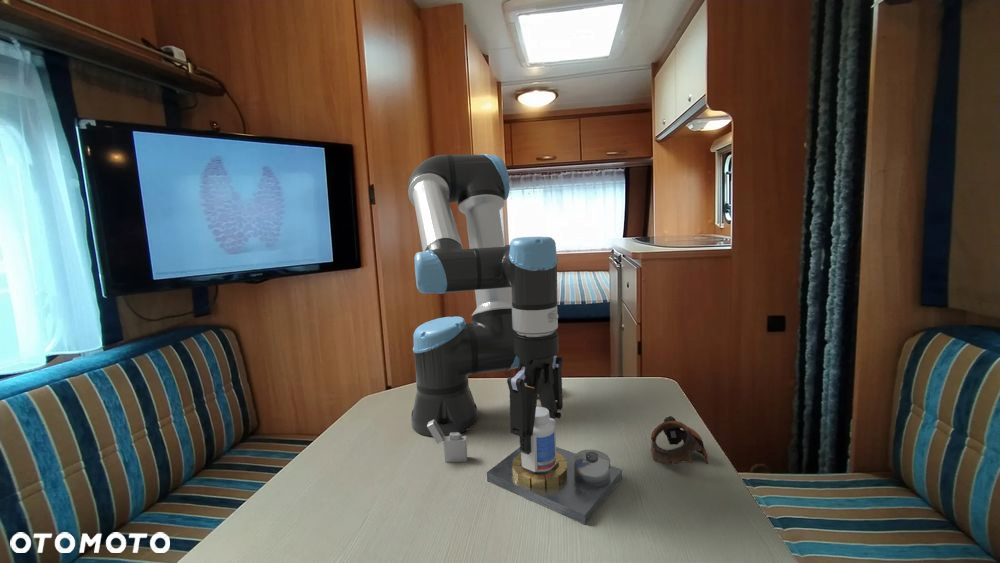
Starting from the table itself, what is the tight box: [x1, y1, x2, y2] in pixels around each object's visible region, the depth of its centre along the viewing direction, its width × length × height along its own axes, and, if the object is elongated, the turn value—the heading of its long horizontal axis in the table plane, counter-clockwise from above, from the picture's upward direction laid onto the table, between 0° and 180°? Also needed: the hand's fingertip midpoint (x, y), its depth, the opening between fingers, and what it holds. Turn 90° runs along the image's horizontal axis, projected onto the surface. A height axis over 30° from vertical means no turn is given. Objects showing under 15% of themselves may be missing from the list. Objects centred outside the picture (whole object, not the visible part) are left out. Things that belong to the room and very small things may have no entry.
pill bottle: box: [533, 406, 555, 472], centre depth 74 cm, size 6×5×10 cm
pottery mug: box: [650, 415, 709, 465], centre depth 81 cm, size 12×10×8 cm
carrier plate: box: [486, 446, 623, 525], centre depth 75 cm, size 19×14×5 cm
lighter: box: [427, 419, 468, 463], centre depth 83 cm, size 7×2×8 cm, turn 88°
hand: (539, 459), depth 75 cm, fingers closed on pill bottle, 5 cm apart
